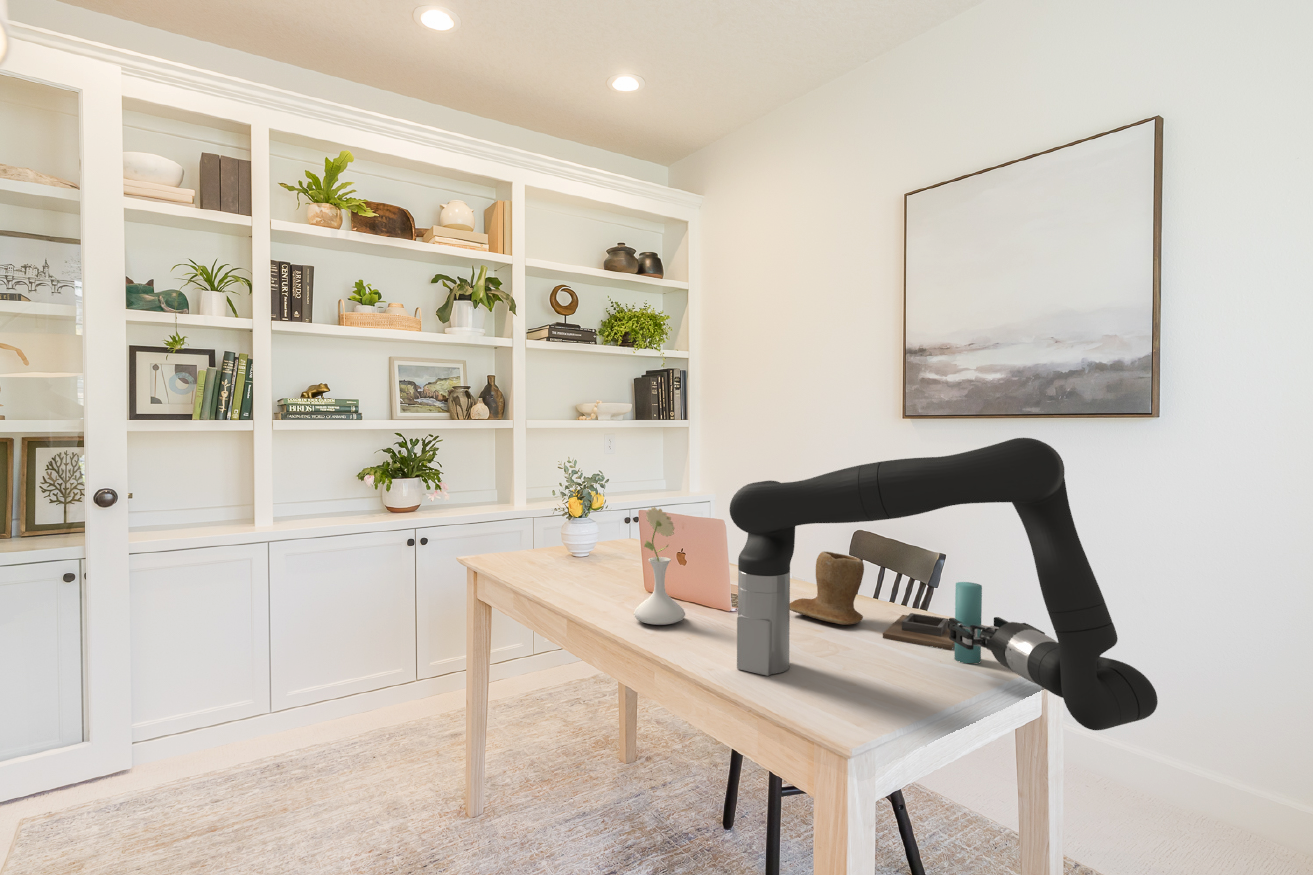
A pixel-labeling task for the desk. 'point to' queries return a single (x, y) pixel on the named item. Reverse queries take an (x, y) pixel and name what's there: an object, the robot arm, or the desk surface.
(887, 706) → the desk surface
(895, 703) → the desk surface
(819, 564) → the brown hollow flared cylinder
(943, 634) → the walnut base board
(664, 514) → the flower in vase
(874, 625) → the desk surface
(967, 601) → the teal pillar
